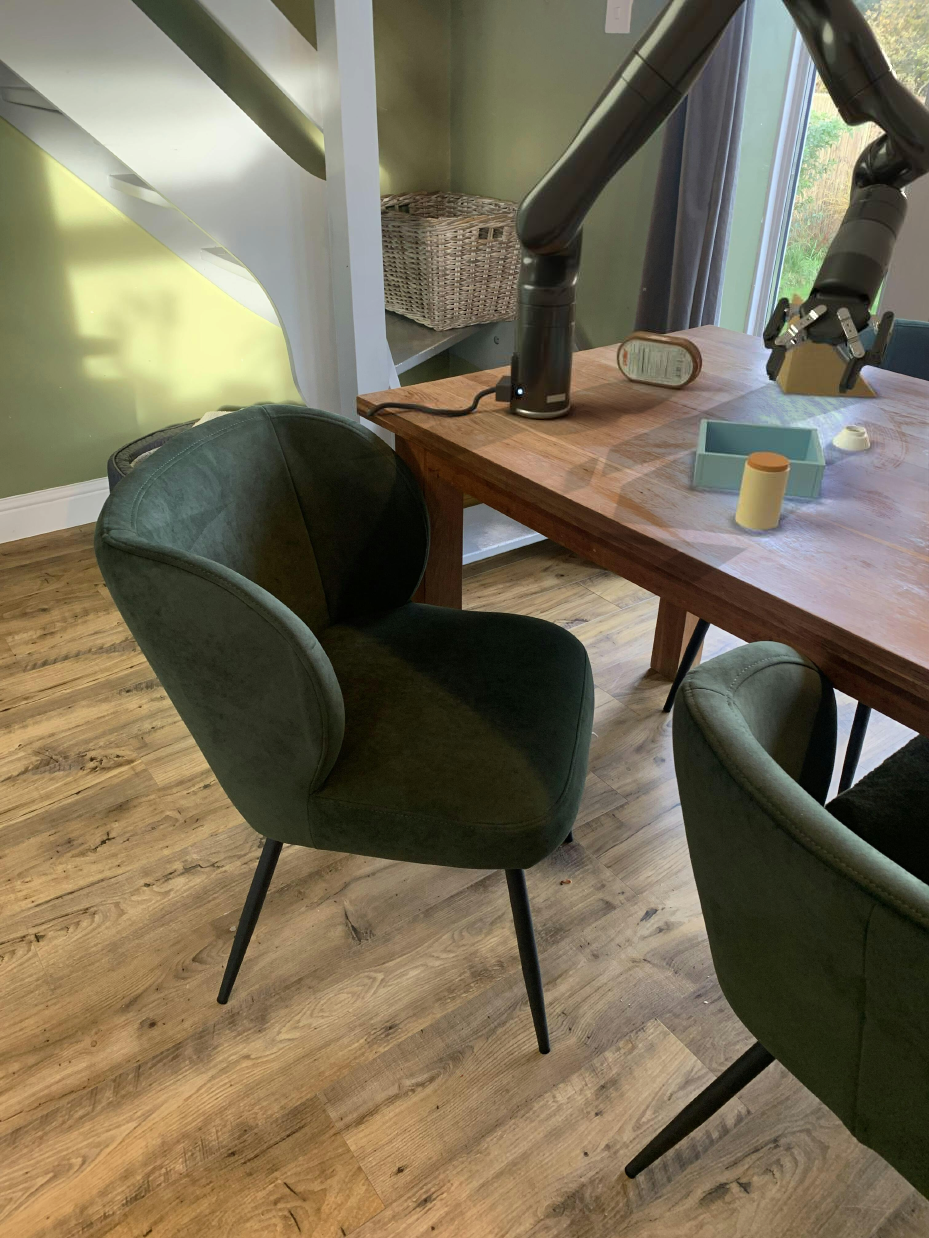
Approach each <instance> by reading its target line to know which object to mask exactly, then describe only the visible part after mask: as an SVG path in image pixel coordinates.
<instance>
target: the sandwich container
mask: <svg viewBox="0 0 929 1238" xmlns="http://www.w3.org/2000/svg"><path fill="white" fill-rule="evenodd" d="M804 302H805V300H804V299H803V298H802V297H801V296H800V295H799V294H798V293H796V292H795V293H793V295H792V300H791V303H793V304H798V305H802V304H803V303H804ZM799 320H800V317H799V315H797V316H794V317H793V318H792V319H791V320H790V322H787V325H786V331H788V330H789V329H790V327H791V326H792V325H793V324H794V323H796V322H797V321H799ZM786 331H785V332H786ZM803 332H804V330H803V331H802V333H803ZM785 355H786V358H785V360H784V362H783V365H782V367H781V370H780V372H779V374H778V377H777V379H776V381H777V382H778V384H779V386H780V388H781V390H782V392H783V394H785V395H786V394H788V395H804V396H805V395H806V396H819V397H820V396H821V397H823V396H824V397H844V398H845V397H848V398H849V397H850V398H872V399H873V398H875V399H877V397H878V396H877V395H876V393H875V392H874V390H873V389H872V387H871V386H870V385H869V383H868V382H867V381H866V379H865V377H864V376H863V374H862V373H861V372H860V374H859V377H858V379H857V382H856V384H855V387H854V388H853V389H852V390H847V392H846V394H843V393H839V384H840V381H841V378H842V376H843V373H844V371H845V369H846V366H847V364H848V361H849V359H850V357H848V356H847V355H846V353H845V352H844V351H843V349H842V348H841V346H840V345H838V347H836V346H830V345H828V344H825V343H823V344H816V343H812V341H811V340H809V341H808V342H806V343H805V344H803V345H802V346H800V347H795V348H794V349H792V350H791V351H789V352H788V353H786V354H785Z"/></svg>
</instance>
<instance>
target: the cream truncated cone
mask: <svg viewBox="0 0 929 1238" xmlns="http://www.w3.org/2000/svg"><path fill="white" fill-rule="evenodd" d="M832 445H833V446H835V447H837V448H838V449H842V450H846V451H852V452H863V451H867V450H869V449H870V448H871V444H870V440H869V436H868V434H867V429H866V428H865V427H863V426H861V425H855V424H854V425H853V424H848V425H845V426H843V428H842V430H840V431H839V432H838V434H837V435H836V436H835V438H834V439H833V440H832Z"/></svg>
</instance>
